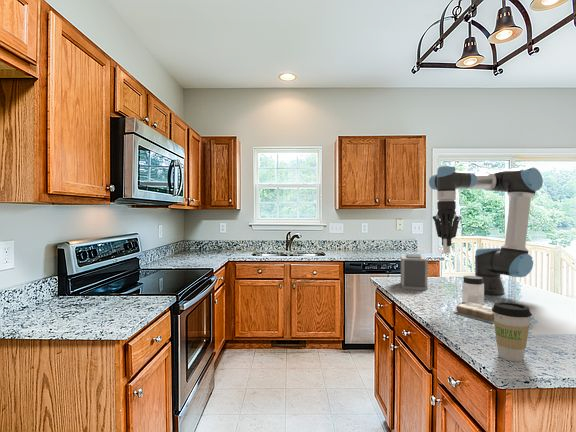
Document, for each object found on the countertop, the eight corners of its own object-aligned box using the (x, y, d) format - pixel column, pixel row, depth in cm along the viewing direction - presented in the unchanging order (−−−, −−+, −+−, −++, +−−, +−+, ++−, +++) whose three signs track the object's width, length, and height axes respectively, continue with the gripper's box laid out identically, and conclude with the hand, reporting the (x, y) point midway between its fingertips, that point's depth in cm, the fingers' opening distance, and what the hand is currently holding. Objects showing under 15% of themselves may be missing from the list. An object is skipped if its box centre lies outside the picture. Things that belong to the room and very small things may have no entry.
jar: (476, 306, 158) (476, 279, 158) (459, 302, 165) (459, 276, 165) (487, 303, 163) (487, 277, 163) (469, 299, 170) (469, 274, 170)
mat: (476, 308, 155) (476, 307, 155) (515, 317, 142) (515, 316, 142) (453, 313, 147) (453, 312, 147) (492, 323, 134) (492, 323, 134)
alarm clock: (400, 282, 211) (400, 251, 211) (424, 283, 208) (424, 252, 208) (401, 289, 194) (402, 255, 193) (427, 290, 190) (427, 256, 190)
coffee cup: (483, 351, 108) (484, 301, 107) (514, 350, 108) (515, 301, 108) (506, 365, 98) (507, 310, 98) (539, 363, 99) (540, 310, 98)
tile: (471, 302, 154) (504, 309, 142) (470, 307, 154) (504, 316, 142) (456, 305, 149) (489, 313, 137) (456, 311, 149) (489, 320, 137)
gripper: (428, 201, 163) (428, 252, 163) (454, 200, 151) (454, 255, 152) (438, 201, 167) (439, 251, 167) (465, 200, 155) (465, 254, 156)
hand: (446, 253), depth 159 cm, fingers closed
